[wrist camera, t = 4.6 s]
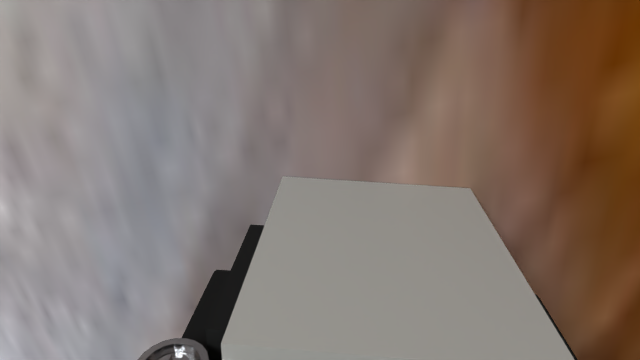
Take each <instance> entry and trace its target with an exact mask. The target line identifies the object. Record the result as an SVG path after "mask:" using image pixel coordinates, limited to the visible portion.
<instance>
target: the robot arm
mask: <svg viewBox="0 0 640 360" xmlns="http://www.w3.org/2000/svg"><path fill="white" fill-rule="evenodd" d="M263 229H264V226H263V225H250V227H249V229H248V232H247V234H246V236H245V239H244V241H243V243H242V246H241V248H240V250H239V252H238V255H237V257H236V259H235V262H234V264H233V266H232V269H231V271H227V270H216V271H215V272H214V273H213V275H212V277H211V279H210V281H209V283H208V285H207V287H206V289H205V291H204V293H203V295H202V297H201V299H200V301H199V303H198V306H197V308H196V310H195V312H194V314H193V316H192V318H191V320H190V322H189V324H188V326H187V328H186V330H185V332H184V334H183V336H182V338H174V339H170V340H165V341H162V342H160V343H158V344H156V345H154V346H152V347H151V348H149V349H148V350H147V351H145V352H144V353H143V354H142V355H141V357H140V358H139V359H138V360H222V352H221V342H222V339H223V337H224V334H225V331H226V329H227V326H228V323H229V320H230V318H231V315H232V312H233V310H234V307H235V304H236V302H237V299H238V296H239V293H240V291H241V288H242V285H243V283H244V280H245V277H246V275H247V272H248V269H249V266H250V264H251V261H252V258H253V256H254V253H255V250H256V247H257V245H258V242H259V239H260V237H261V234H262V231H263ZM535 296H536V297H537V299H538V301H539V302H540V304H541V305H542V307H543V309H544V310H545V312H546V314H547V315H548V317H549V319H550V320H551V322H552V324H553V325H554V327H555V328H556V330H557V332H558V333H559V335H560V337H561V338H562V340H563V342H564V343H565V345H566V346H567V348H568V350H569V351H570V353H571V355H572V356H573V358H574V360H577V358H576V357H575V355H574V353H573V352H572V350H571V348H570V347H569V345H568V344H567V342H566V340H565V339H564V337H563V335H562V334H561V332H560V331H559V329H558V327H557V326H556V324H555V323H554V321H553V319H552V318H551V316H550V314H549V313H548V311H547V310H546V308H545V306H544V305H543V303H542V302H541V300H540V298H539V297H538V296H537V295H536V294H535Z"/></svg>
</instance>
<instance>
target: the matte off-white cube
mask: <svg viewBox="0 0 640 360" xmlns="http://www.w3.org/2000/svg"><path fill="white" fill-rule="evenodd" d="M221 352H222V360H574V358H573V356H572V355H571V353H570V351H569V350H568V348H567V346H566V345H565V343H564V342H563V340H562V338H561V337H560V335H559V333H558V332H557V330H556V328H555V327H554V325H553V324H552V322H551V320H550V319H549V317H548V315H547V314H546V312H545V310H544V309H543V307H542V305H541V304H540V302H539V301H538V299H537V297H536V296H535V294H534V292H533V291H532V289H531V287H530V286H529V284H528V282H527V281H526V279H525V278H524V276H523V274H522V273H521V271H520V269H519V268H518V266H517V264H516V263H515V261H514V260H513V258H512V256H511V255H510V253H509V251H508V250H507V248H506V246H505V245H504V243H503V241H502V240H501V238H500V237H499V235H498V233H497V232H496V230H495V228H494V227H493V225H492V223H491V222H490V220H489V219H488V217H487V215H486V214H485V212H484V210H483V209H482V207H481V205H480V204H479V202H478V200H477V199H476V197H475V196H474V194H473V192H472V191H471V189H470V188H456V187H440V186H425V185H409V184H393V183H378V182H362V181H346V180H330V179H315V178H299V177H282V180H281V183H280V185H279V188H278V191H277V193H276V196H275V199H274V202H273V204H272V207H271V210H270V212H269V215H268V218H267V220H266V223H265V226H264V229H263V231H262V234H261V237H260V239H259V242H258V245H257V247H256V250H255V253H254V256H253V258H252V261H251V264H250V266H249V269H248V272H247V275H246V277H245V280H244V283H243V285H242V288H241V291H240V293H239V296H238V299H237V302H236V304H235V307H234V310H233V312H232V315H231V318H230V320H229V323H228V326H227V329H226V331H225V334H224V337H223V339H222V342H221Z"/></svg>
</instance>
